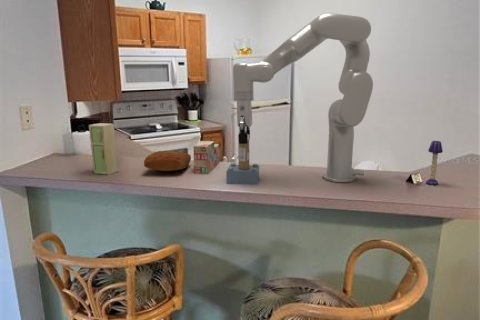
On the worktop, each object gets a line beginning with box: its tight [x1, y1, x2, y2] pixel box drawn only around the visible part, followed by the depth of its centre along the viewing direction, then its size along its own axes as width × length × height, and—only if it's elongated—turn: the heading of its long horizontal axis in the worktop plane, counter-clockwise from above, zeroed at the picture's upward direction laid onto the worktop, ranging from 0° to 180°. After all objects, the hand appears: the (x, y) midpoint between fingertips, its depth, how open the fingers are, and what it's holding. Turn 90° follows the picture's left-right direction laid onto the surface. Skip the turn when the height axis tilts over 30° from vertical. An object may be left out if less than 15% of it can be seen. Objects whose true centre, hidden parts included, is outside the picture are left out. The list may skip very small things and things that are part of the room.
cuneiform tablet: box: [143, 150, 192, 172], centre depth 155 cm, size 22×17×8 cm
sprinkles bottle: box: [237, 134, 251, 169], centre depth 137 cm, size 5×5×14 cm
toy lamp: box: [425, 140, 444, 187], centre depth 132 cm, size 5×5×17 cm
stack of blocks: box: [193, 140, 221, 175], centre depth 159 cm, size 21×6×12 cm, turn 170°
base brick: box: [225, 162, 260, 185], centre depth 139 cm, size 12×10×6 cm
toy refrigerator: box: [88, 122, 119, 175], centre depth 150 cm, size 8×7×21 cm
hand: (244, 141), depth 136 cm, fingers open, 9 cm apart
